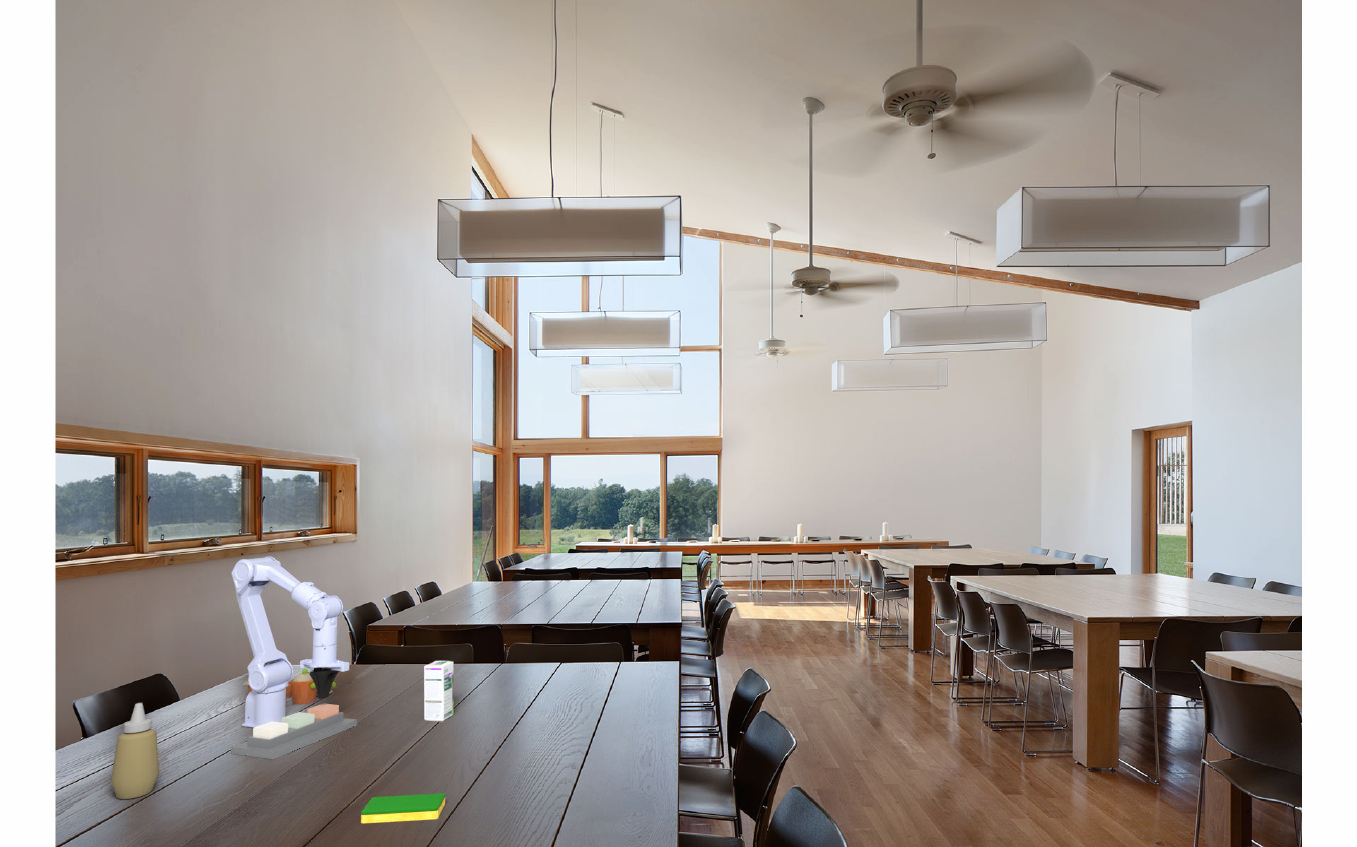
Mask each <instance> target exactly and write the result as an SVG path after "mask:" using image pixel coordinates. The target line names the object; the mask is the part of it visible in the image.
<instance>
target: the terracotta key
mask: <svg viewBox="0 0 1357 847" xmlns="http://www.w3.org/2000/svg"><path fill="white" fill-rule="evenodd" d="M339 708H340V705H339V704H330V703H320V704H318V705H315V706H312V707H309V708H307V712H306V713H311V714H315V716H314V718H316V719H325V718H328V717H330V716H333V715H336V714H339V712H340V710H339Z"/></svg>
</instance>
